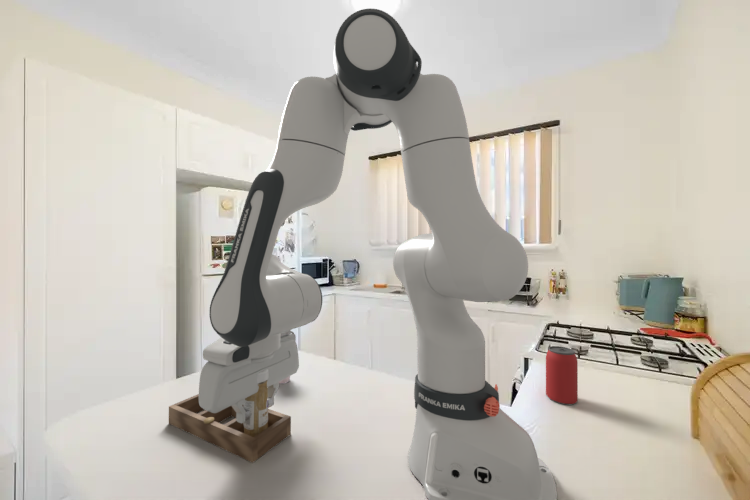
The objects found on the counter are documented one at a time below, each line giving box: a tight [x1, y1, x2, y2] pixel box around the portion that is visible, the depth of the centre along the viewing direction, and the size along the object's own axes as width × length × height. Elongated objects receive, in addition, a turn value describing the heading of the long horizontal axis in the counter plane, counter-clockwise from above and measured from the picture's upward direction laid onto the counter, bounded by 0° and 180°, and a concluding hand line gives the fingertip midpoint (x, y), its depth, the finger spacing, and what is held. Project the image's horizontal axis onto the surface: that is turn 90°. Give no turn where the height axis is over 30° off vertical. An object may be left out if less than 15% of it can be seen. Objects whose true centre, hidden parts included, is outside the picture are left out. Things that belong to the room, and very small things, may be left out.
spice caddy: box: [168, 393, 292, 464], centre depth 61 cm, size 25×9×4 cm, turn 62°
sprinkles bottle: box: [243, 370, 269, 437], centre depth 57 cm, size 5×5×14 cm
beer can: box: [545, 345, 579, 406], centre depth 73 cm, size 7×7×12 cm
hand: (255, 413), depth 57 cm, fingers closed on sprinkles bottle, 4 cm apart
